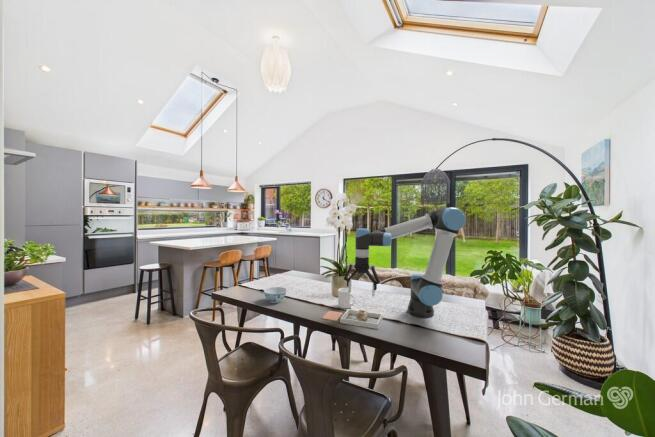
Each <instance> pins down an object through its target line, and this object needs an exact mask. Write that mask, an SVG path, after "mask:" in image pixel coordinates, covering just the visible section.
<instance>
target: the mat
mask: <svg viewBox="0 0 655 437" xmlns="http://www.w3.org/2000/svg"><path fill="white" fill-rule="evenodd" d="M343 314H344V312H341V311H334V310H329V311H327V312H326V313H325V314H323V316H322V317H321V319H322V320H326V321H334V322H337V321H338V320H340V318H341V317H342V316H343Z"/></svg>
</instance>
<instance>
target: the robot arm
mask: <svg viewBox="0 0 655 437" xmlns="http://www.w3.org/2000/svg"><path fill="white" fill-rule="evenodd" d="M466 221H467V218H466V215H465V213H464V212H463V210H462V209H459V208H457V207H452V206H451V207H440V208H438V209H435V210H433V211H430V212H427V213H425V214H424V215H423V216H420V217H417V218H413V219H411V220H407V221H404V222H401V223H397V224H393V225H390V226H387V227H384V228H380V229H374V230H373V231H372V232H371V231H370V228H356V230H355V251H354V254H355V256H354V257H355V258H354V264H353V263H350V264H349V266H348V267H349V268H348V270H347V272H346V273H345V276H344V277H343V280H344V281H346V288H348V293H351V290H352V279H353V277H354V276H355V275H356V274H357V273H358V274H365V275H367V277H368V278H369V280H370V281H371V282H372V285H371V286H372V291H371V292H372V294H371V295H372V296H371V297H375V294H376V293H375V291H376V290H377V289H378V288H377V287H378V286H377V285H378V284H380V283H381V280H380V278H379V276H378V273H377V271H376V268H375V265H370V264H369V263H370V257H369V256H370V247H390V246H392V240H393V239H397V238H399V237H403V236H408V235H410V234H414V233H417V232H421V231H424V230H427V229H430V230H434V229H435V231H436V235H435V239H434V242H433V246H432V250H431V252H430V256H429V259H428V263H427V265H426V268H425V269H426V270H425V273H423V274H421V273H414V274H411V275H410V299H409V302H408V305H407V313H408V314H409V315H411V316H414V317H416V318H417V317H418V318H430V317H433V316H434V315H435V310H434V306H436V305H439V303H441V301H442V300H443V296H444V295H443V291H442V288H443V285H444V282H443V280H442V277H443V275H444V272H445V267H446V265H447V261H448V258H449V255H450V251H451V248H452V245H453V241H454V239H455V237H456V236H458V235H459V233H460V230H461V229H462V228H463V227H464V226H465V225H466ZM353 269H355V271H353V272H352V270H353ZM369 269H370V271H371V273H372V274H371V273H370V271H369ZM351 272H352V273H351ZM350 273H351V274H350Z"/></svg>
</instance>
